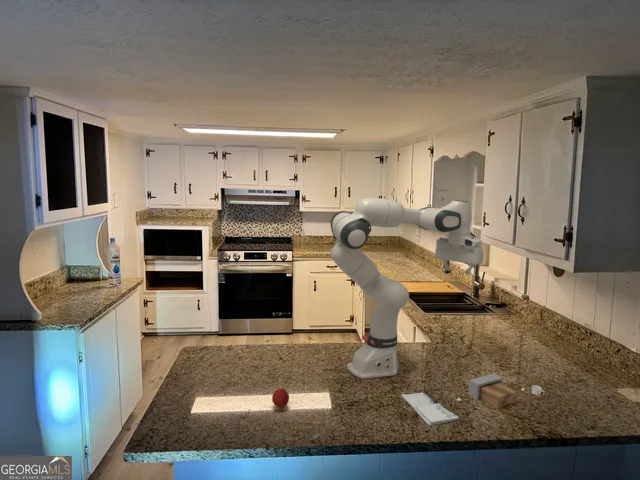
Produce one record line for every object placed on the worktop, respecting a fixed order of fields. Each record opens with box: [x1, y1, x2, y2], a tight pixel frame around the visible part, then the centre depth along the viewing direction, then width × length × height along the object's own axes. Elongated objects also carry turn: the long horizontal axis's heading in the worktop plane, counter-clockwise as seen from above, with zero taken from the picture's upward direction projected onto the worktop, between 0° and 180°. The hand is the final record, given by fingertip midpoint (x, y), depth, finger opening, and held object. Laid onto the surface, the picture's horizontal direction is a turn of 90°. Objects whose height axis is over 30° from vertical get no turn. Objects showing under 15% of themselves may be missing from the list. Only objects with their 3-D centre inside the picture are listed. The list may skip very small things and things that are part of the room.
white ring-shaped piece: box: [521, 384, 545, 396], centre depth 152 cm, size 9×8×4 cm
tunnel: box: [468, 373, 504, 400], centre depth 152 cm, size 12×4×6 cm, turn 115°
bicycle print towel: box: [401, 391, 463, 426], centre depth 146 cm, size 19×20×2 cm
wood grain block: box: [479, 382, 518, 409], centre depth 148 cm, size 9×12×4 cm
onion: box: [271, 386, 290, 410], centre depth 144 cm, size 6×6×8 cm
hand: (457, 272), depth 173 cm, fingers open, 8 cm apart
